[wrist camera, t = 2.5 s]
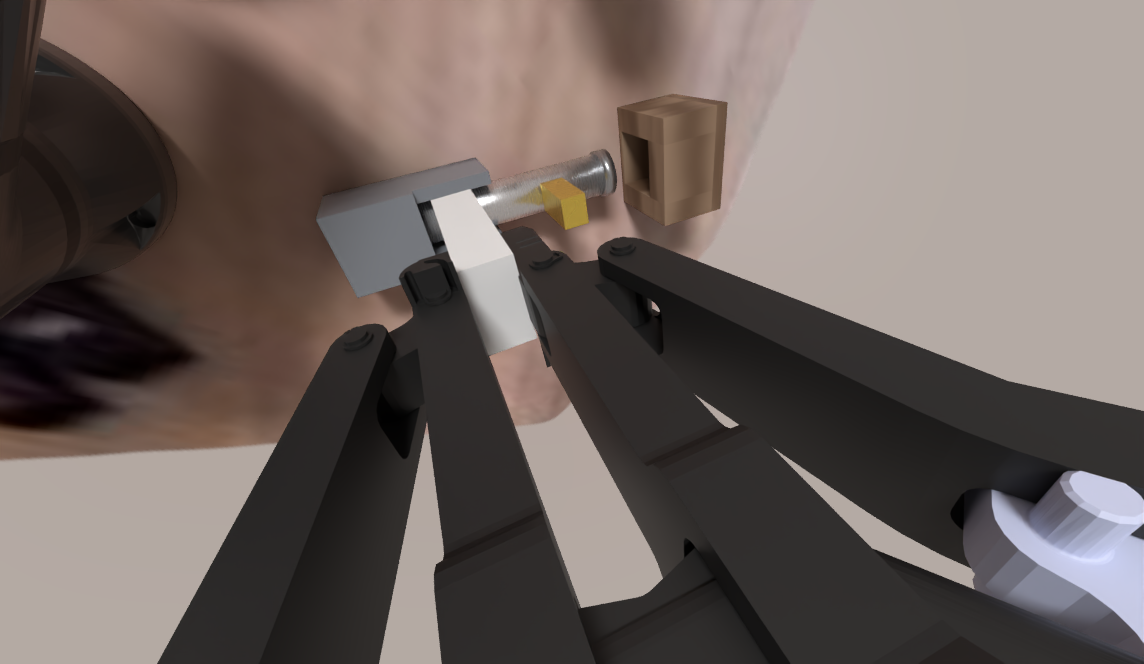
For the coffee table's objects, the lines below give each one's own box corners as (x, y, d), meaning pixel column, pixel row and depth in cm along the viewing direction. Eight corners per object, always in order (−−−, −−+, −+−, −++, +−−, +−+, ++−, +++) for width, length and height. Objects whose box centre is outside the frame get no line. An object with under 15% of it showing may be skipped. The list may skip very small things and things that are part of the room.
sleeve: (359, 267, 38) (357, 297, 34) (322, 196, 34) (315, 219, 30) (494, 227, 41) (510, 251, 36) (475, 157, 37) (490, 173, 32)
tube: (373, 252, 37) (374, 299, 30) (352, 209, 35) (348, 248, 28) (599, 187, 42) (644, 215, 35) (595, 145, 39) (642, 165, 33)
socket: (624, 201, 45) (664, 226, 39) (617, 107, 39) (663, 118, 33) (673, 186, 46) (720, 208, 40) (673, 93, 41) (727, 102, 35)
